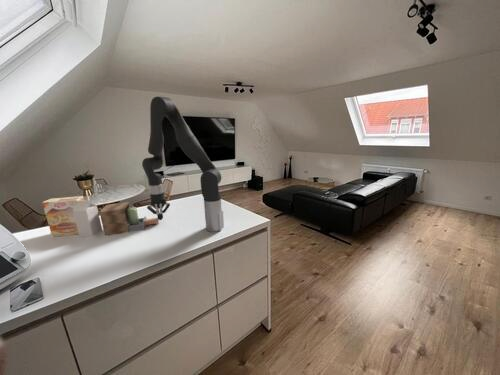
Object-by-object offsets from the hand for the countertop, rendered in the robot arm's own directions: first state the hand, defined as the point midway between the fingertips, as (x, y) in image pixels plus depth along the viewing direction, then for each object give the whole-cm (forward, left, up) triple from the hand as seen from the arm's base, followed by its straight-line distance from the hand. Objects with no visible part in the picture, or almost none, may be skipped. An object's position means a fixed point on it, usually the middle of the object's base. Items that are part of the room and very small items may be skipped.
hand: (160, 219), depth 120 cm
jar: (+12, +8, -1) cm, 14 cm away
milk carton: (+29, +19, -2) cm, 35 cm away
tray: (+9, +6, -2) cm, 11 cm away
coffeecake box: (+42, +19, -2) cm, 46 cm away
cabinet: (+18, +12, -2) cm, 22 cm away
